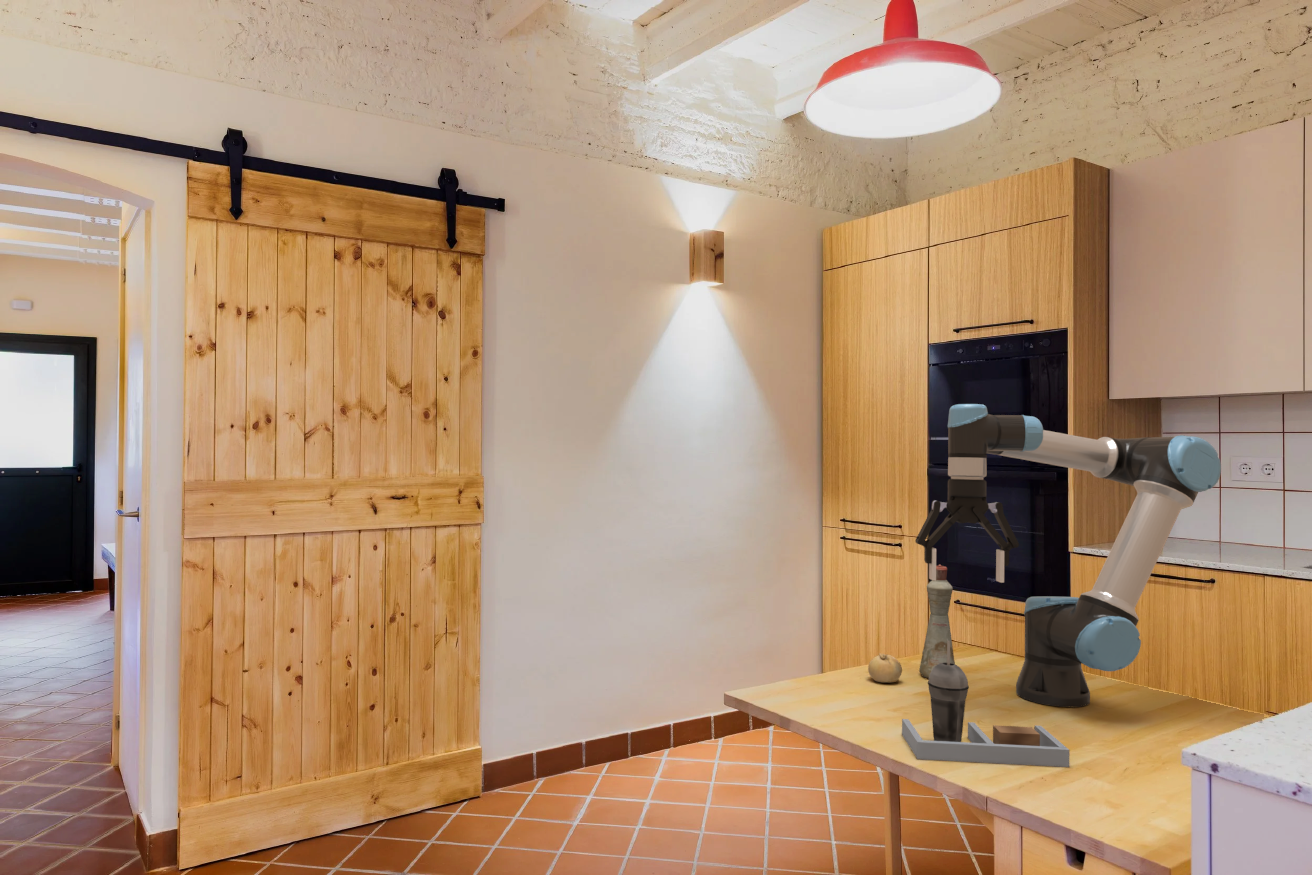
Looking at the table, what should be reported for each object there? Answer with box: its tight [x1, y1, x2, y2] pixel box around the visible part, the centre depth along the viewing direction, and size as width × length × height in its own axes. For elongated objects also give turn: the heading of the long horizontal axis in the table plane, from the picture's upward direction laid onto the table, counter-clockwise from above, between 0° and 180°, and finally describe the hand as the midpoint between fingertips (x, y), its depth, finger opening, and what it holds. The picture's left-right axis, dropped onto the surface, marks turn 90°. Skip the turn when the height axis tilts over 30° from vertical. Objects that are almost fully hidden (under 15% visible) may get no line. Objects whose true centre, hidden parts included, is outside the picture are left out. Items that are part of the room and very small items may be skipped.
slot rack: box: [901, 718, 1070, 768], centre depth 148 cm, size 26×13×3 cm, turn 85°
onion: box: [867, 653, 903, 683], centre depth 195 cm, size 8×8×7 cm
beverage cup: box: [927, 640, 970, 742], centre depth 150 cm, size 7×7×20 cm
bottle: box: [919, 564, 956, 679], centre depth 199 cm, size 9×9×28 cm
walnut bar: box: [992, 724, 1040, 746], centre depth 148 cm, size 7×4×4 cm, turn 85°
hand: (966, 580), depth 166 cm, fingers open, 13 cm apart
